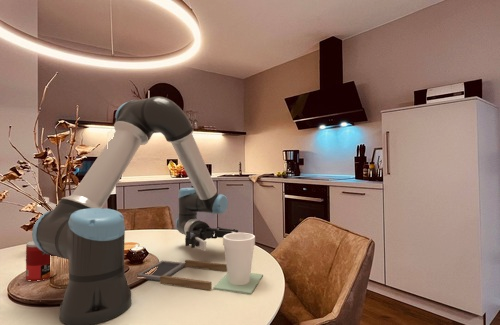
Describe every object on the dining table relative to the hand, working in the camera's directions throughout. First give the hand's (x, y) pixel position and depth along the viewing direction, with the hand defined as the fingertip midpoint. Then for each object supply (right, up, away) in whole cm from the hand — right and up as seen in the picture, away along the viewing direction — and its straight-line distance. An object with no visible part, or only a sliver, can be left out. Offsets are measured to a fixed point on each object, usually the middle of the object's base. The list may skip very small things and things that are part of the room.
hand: (224, 242), depth 88 cm
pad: (+5, -9, -7) cm, 13 cm away
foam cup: (+5, -9, -7) cm, 13 cm away
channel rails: (-8, -10, -3) cm, 13 cm away
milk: (-73, -10, +20) cm, 77 cm away
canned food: (-56, -10, -4) cm, 57 cm away
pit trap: (-20, -10, 0) cm, 22 cm away
